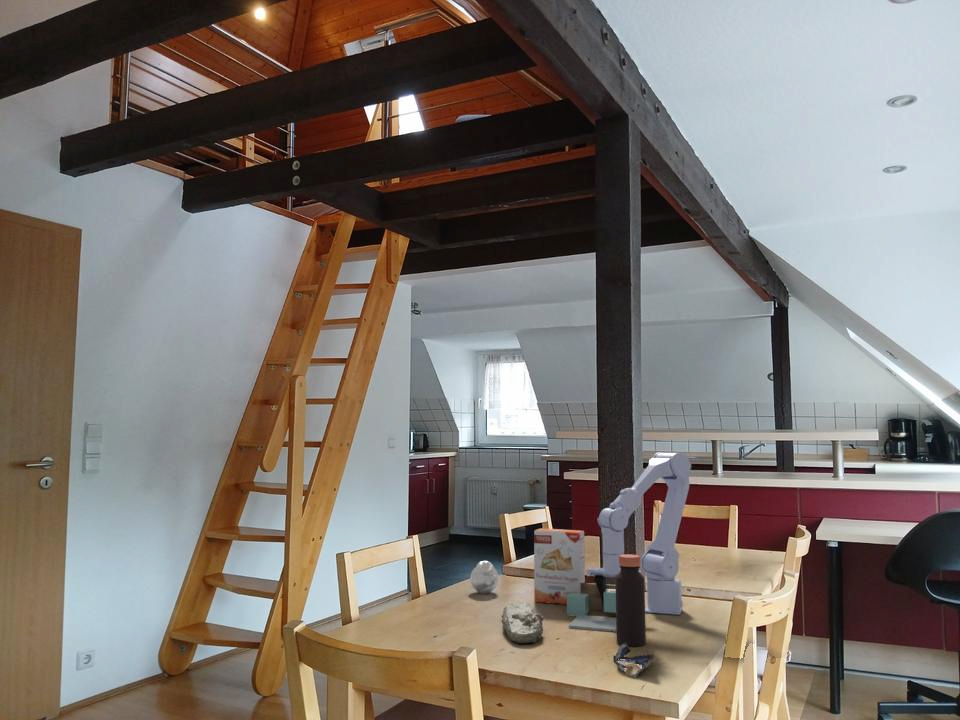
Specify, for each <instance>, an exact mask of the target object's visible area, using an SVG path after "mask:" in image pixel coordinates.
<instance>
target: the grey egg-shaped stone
mask: <svg viewBox="0 0 960 720" xmlns="http://www.w3.org/2000/svg"><path fill="white" fill-rule="evenodd" d="M469 578H470V579H469V580H470V584H471V587H472V588H473V589H474V590H475V591H476V592H478V593H480V594H489V593H492V592H493V591H494V590H496V588H497V587H498V585H499V580H500V578H499V573H498V571H497V569H496V568H495V566H494V565H493V563H492V562H490V561H488V560H483V561H482V560H481V561H479V562H478V563H477V564H476V567H474V568H473V569H472V571H471V573H470V577H469Z"/></svg>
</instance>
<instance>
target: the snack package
mask: <svg viewBox="0 0 960 720" xmlns="http://www.w3.org/2000/svg"><path fill="white" fill-rule="evenodd" d="M646 652H648V650H646ZM629 653H631V649H630V648H629V646H628V645H627V643H623V644H622V645H620V646H619V647H618V649H617V652H616V653H615V655H613V659H612V660H613V662H615V663H616V665H617V666H618V668H619V669H620V670H621V671H622V672H623V670H625V669H624V668H626V666H624V664H620V663H618V662H617V661H621V662H623V663H625V662H628V663H634V664H639V665H642V669H640V668H639V670H638V671H637V672H635V673H636V674H635V673H633V674H632V675H630V676H631V677H630V678H634V677H635V678H637V677H638V676H639V674H640V673H641V672H643V671H644V670H646V669H647V668H649V667H650V665H651V663H652V661H653V659H654V657H655V655H654V654H649V653H648V654H642V655H636V656H633V657H628V656H627V655H628V654H629ZM618 659H619V660H618ZM620 659H625V660H620Z"/></svg>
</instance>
